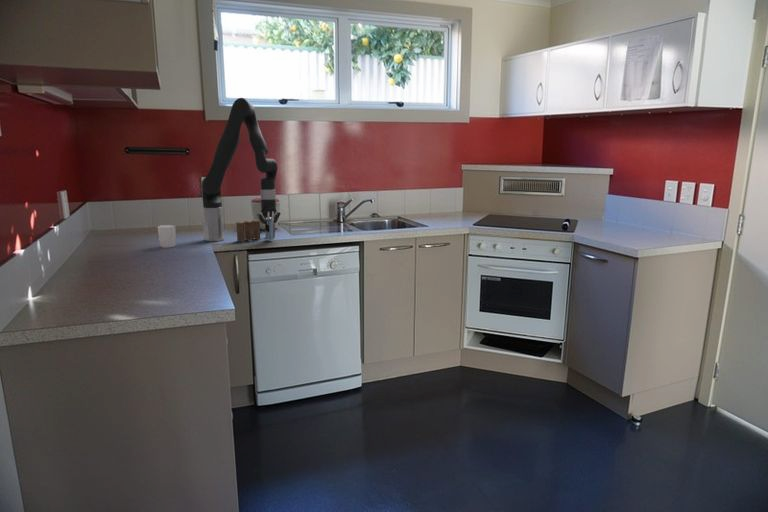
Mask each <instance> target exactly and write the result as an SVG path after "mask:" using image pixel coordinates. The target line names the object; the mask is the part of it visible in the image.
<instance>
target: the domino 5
mask: <svg viewBox="0 0 768 512" xmlns="http://www.w3.org/2000/svg"><path fill="white" fill-rule="evenodd" d="M275 229H276V228H275V226H274V224H273V237H275V238H276V234H275V233H276V231H275Z"/></svg>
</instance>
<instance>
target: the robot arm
mask: <svg viewBox="0 0 768 512" xmlns="http://www.w3.org/2000/svg"><path fill="white" fill-rule="evenodd" d="M230 108H231V109H230V113H229V115H228V116H229V117H228V119H227V122H226V124H225V126H224V129H223V132H222V134H221V137H220V138H219V141H218V142H217V146H216V149H215V151H214V154H213V155H214V156H213V159H212V163H211V166H210V168H209V170H208V172H207V174H206V176H205V177H204V178H203V179H202V181H201V192H202V195H201V196H202V207H203V221H202V230H203V231H202V232H203V240H204V241H206V242H220V241H223V240H225V235H224V234H225V233H224V232H225V231H224V220H223V219H224V218H223V202H222V201H223V200H222V190H221V189H222V184H223V180H224V178H225V175H226V172H227V170H228V168H229V166H230V164H231V163H232V160H233V158H234V156H235V154H236V152H237V150H238V146H239V143H240V131H241V126H242V124H243V123H244V124H245V126H246V129H247V131H248V139H249V142H250V145H251V148H252V150H253V153H254V158H255V159H254V160H255V166H256V169H257V170H258V172H260V173H261V174H265V176H264V177H262V178H261V179H260V198H261V208H262V209H261V212H260V213H259V214H257V217H258V218H259V220H260V221H261V223H263V224H265V230H266V232H269V220H272V221H273V224H274V223H276V222H277V220H278V218H279V219H280V216H281V214H282V213H281V212H280V211H279V212H277V211H276V199H277V197H276V196H277V195H276V194H277V193H276V184H275V183H276V182H275V181H276V178H277V173H278V164H277V163H278V162H277V160H275V159H274V158H266V155H267V154H268V153H269V148H268V146H267V143H266V140H265V139H264V137H263V134H262V131H261V129H260V126H259V121H258V118H257V114H256V110H255V106H254V105H253V103H251V101H248V100H247V99H246V98H245V97H240V98H236V99H235V100H234V102H233V103H232V105H231V107H230ZM274 215H275V216H274ZM262 216H264V218H263V217H262ZM278 221H279V220H278ZM265 230H264V231H265ZM266 232H265V233H266Z"/></svg>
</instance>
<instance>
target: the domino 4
mask: <svg viewBox="0 0 768 512" xmlns="http://www.w3.org/2000/svg"><path fill="white" fill-rule="evenodd" d="M264 231H265V232H264V233H265V240H266V239H267V240H268V241H273V240H274V239H275V238H273V221H272V220H269V232H266V230H264ZM274 241H275V240H274Z"/></svg>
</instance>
